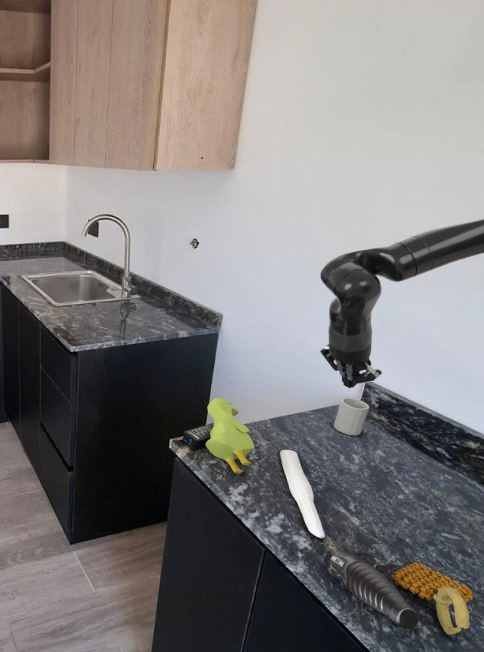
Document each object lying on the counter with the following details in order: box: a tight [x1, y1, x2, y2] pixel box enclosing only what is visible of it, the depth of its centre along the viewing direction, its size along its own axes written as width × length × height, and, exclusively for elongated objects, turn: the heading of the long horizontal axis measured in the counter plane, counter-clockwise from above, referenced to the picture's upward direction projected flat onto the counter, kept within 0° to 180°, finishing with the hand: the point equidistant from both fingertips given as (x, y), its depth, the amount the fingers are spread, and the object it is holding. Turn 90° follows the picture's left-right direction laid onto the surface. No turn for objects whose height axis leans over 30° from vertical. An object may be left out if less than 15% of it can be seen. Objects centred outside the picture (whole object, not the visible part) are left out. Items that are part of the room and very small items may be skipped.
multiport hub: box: [182, 422, 214, 450], centre depth 115 cm, size 4×11×2 cm, turn 117°
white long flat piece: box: [279, 449, 326, 539], centre depth 99 cm, size 28×4×2 cm, turn 163°
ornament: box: [391, 562, 474, 635], centre depth 73 cm, size 7×10×15 cm
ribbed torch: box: [327, 549, 419, 629], centre depth 75 cm, size 9×13×3 cm
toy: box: [205, 397, 255, 475], centre depth 110 cm, size 6×17×20 cm
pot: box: [333, 397, 370, 436], centre depth 121 cm, size 6×6×8 cm
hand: (349, 384), depth 110 cm, fingers closed
